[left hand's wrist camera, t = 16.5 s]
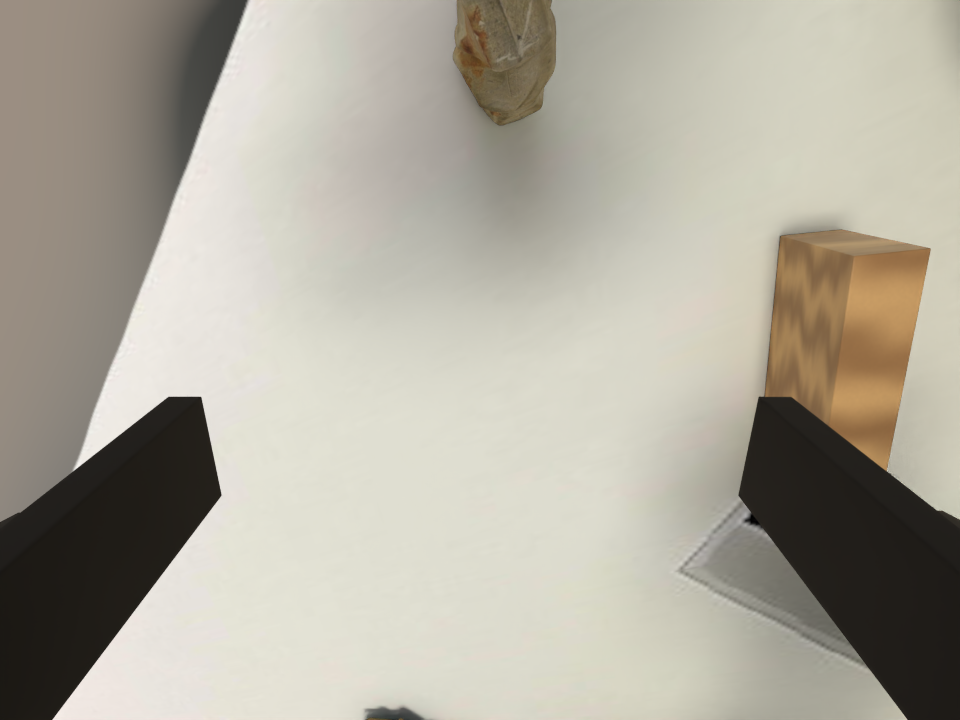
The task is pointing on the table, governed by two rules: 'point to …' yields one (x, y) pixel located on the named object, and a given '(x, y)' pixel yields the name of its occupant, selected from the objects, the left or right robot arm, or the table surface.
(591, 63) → the table surface
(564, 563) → the table surface
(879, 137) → the table surface
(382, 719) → the spray gun
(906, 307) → the bar
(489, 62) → the sculpture
